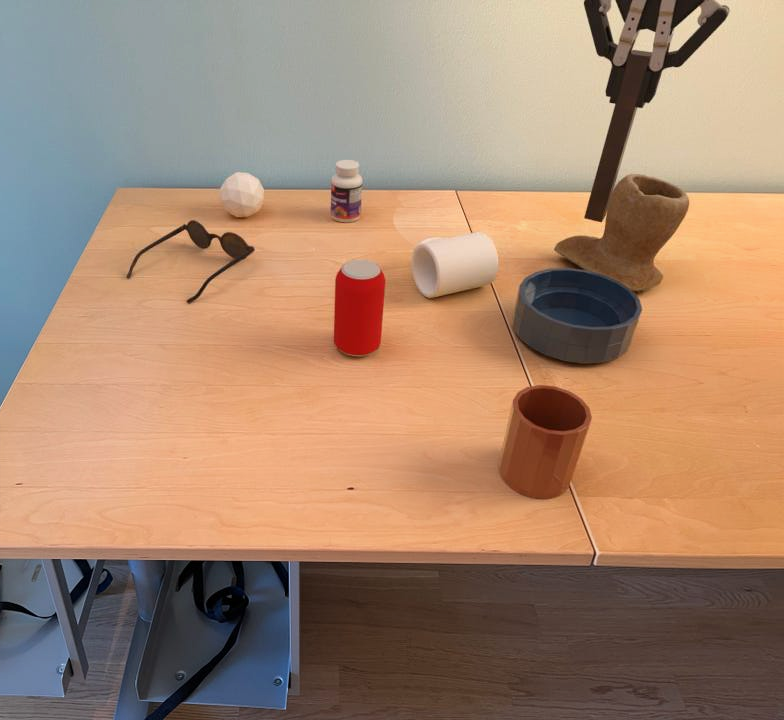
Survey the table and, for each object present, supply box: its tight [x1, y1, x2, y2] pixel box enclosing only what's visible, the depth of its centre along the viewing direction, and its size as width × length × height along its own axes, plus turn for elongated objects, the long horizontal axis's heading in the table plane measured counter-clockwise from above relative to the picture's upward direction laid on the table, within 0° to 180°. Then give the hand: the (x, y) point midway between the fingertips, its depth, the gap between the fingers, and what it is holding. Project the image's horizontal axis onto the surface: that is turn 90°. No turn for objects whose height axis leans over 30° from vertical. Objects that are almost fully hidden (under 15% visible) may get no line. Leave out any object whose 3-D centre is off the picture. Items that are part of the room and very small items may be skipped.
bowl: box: [512, 267, 643, 364], centre depth 93 cm, size 15×15×6 cm
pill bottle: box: [330, 159, 363, 223], centre depth 122 cm, size 5×5×10 cm
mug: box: [410, 231, 499, 299], centre depth 104 cm, size 12×10×8 cm
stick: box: [583, 49, 652, 223], centre depth 76 cm, size 2×2×18 cm
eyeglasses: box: [126, 219, 256, 304], centre depth 107 cm, size 15×15×5 cm
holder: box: [498, 384, 593, 500], centre depth 71 cm, size 7×7×9 cm
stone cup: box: [553, 173, 690, 292], centre depth 104 cm, size 15×12×15 cm
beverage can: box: [333, 259, 386, 357], centre depth 89 cm, size 6×6×12 cm
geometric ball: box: [219, 171, 265, 218], centre depth 123 cm, size 8×8×8 cm
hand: (627, 103), depth 73 cm, fingers closed on stick, 2 cm apart
